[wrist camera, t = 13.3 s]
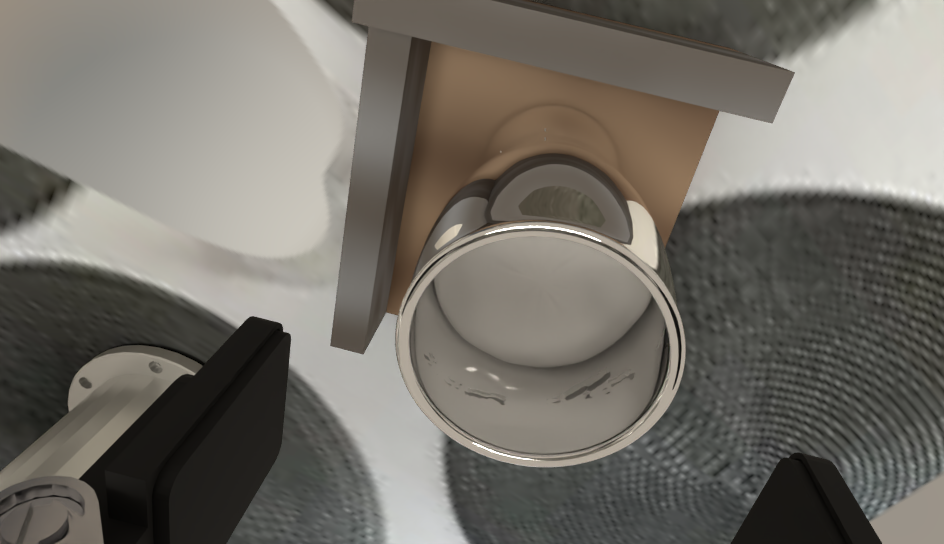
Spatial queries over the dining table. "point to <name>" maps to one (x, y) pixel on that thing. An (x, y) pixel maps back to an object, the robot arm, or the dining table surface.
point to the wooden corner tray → (500, 98)
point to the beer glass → (543, 302)
